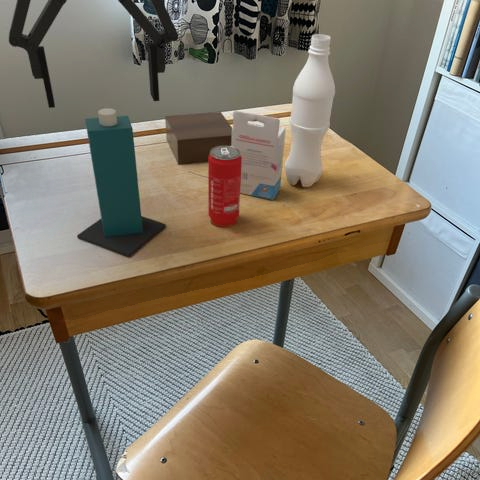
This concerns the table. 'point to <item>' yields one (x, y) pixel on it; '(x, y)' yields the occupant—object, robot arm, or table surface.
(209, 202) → the beverage can
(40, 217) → the table surface
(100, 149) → the teal tall block
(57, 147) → the table surface
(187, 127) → the walnut stand
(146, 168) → the table surface
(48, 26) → the robot arm
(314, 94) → the water bottle
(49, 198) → the table surface
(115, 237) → the coaster
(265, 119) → the ink box
